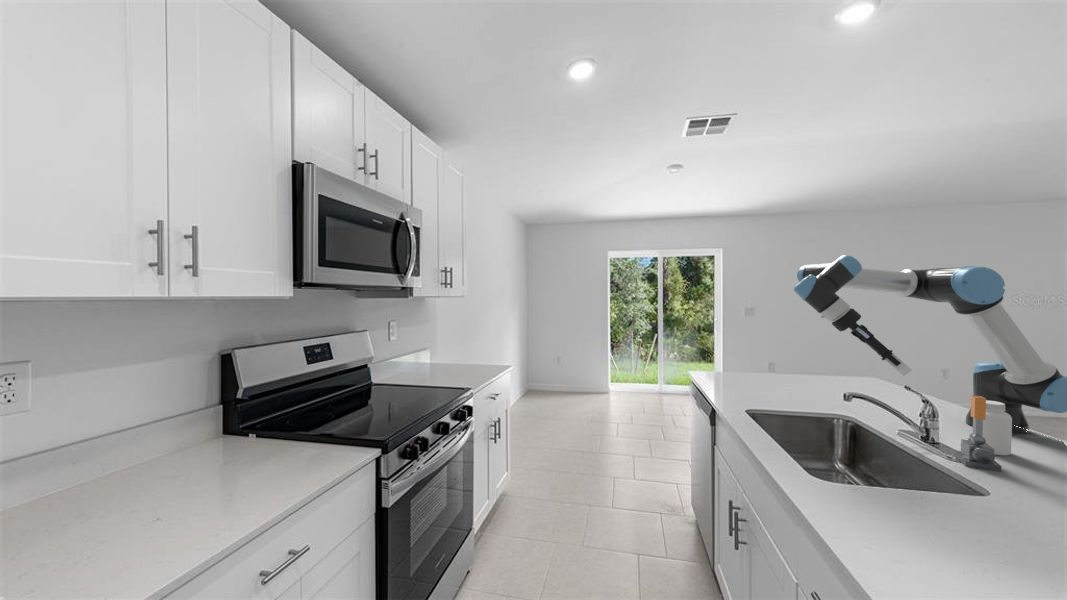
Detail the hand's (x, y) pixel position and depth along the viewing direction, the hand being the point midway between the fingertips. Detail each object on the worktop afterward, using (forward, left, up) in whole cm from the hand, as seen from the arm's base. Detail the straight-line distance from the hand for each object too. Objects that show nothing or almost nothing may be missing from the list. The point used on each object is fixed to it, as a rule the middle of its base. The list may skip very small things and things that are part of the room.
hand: (907, 372), depth 126 cm
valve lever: (-15, 0, -19) cm, 24 cm away
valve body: (-15, 0, -25) cm, 29 cm away
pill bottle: (-23, -14, -25) cm, 37 cm away
